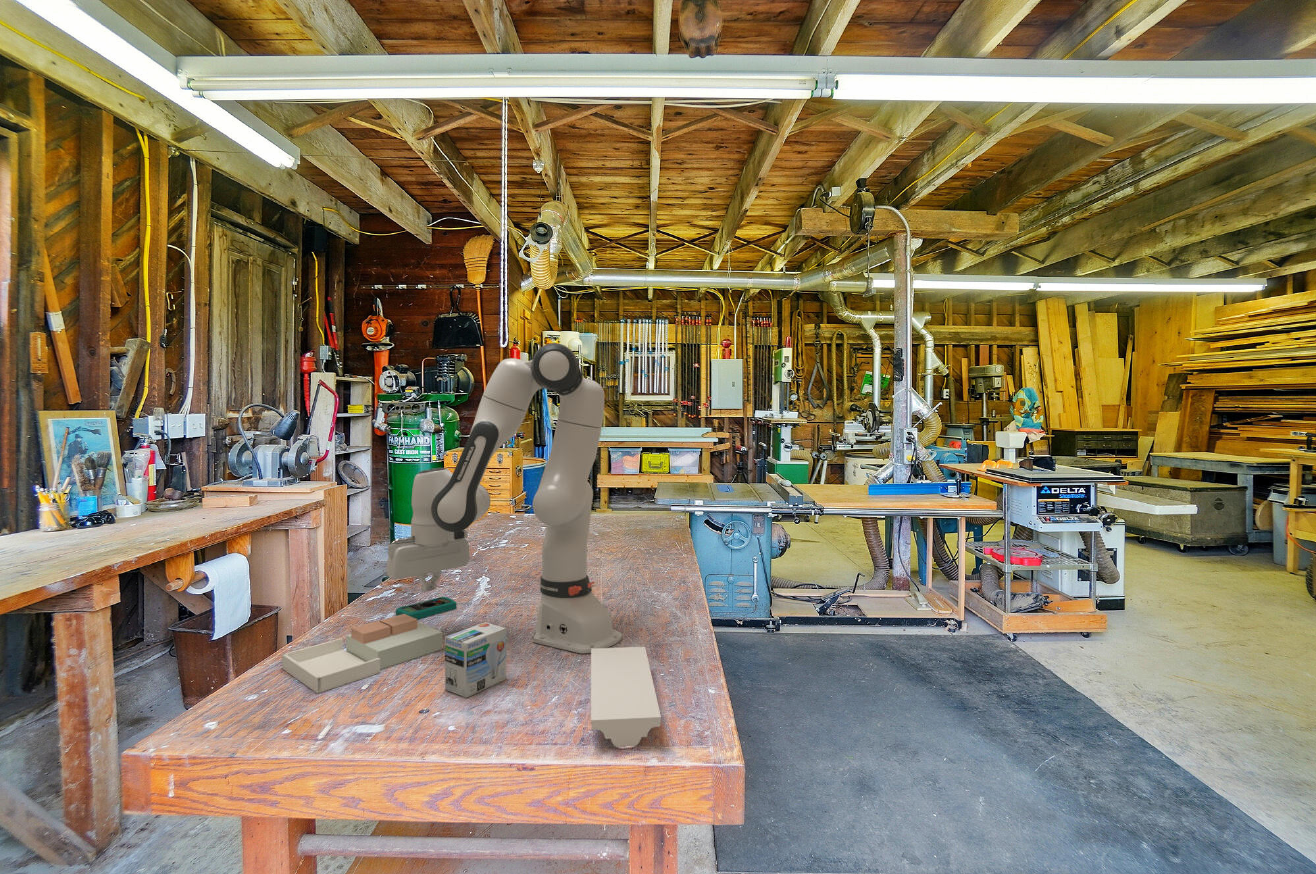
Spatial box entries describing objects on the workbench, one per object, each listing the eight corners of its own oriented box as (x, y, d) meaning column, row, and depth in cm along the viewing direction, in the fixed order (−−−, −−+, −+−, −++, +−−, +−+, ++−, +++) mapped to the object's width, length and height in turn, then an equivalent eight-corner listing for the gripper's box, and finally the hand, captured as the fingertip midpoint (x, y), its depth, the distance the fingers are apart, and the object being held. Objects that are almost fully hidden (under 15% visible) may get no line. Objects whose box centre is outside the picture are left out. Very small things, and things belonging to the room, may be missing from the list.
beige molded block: (590, 751, 97) (591, 720, 97) (591, 672, 127) (591, 648, 127) (660, 748, 98) (661, 717, 98) (644, 670, 128) (644, 646, 128)
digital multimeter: (458, 610, 168) (458, 599, 167) (408, 624, 156) (408, 613, 156) (444, 604, 172) (444, 594, 172) (394, 618, 160) (394, 607, 160)
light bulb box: (466, 699, 114) (466, 643, 114) (443, 690, 118) (443, 636, 117) (507, 678, 123) (507, 627, 123) (485, 671, 127) (485, 620, 127)
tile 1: (390, 636, 135) (390, 626, 135) (363, 644, 131) (363, 634, 131) (377, 630, 139) (377, 620, 139) (351, 637, 134) (351, 627, 134)
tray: (380, 672, 125) (380, 658, 125) (317, 693, 116) (317, 678, 116) (341, 650, 137) (341, 638, 137) (282, 668, 127) (281, 654, 127)
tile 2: (417, 628, 140) (417, 619, 140) (392, 635, 136) (392, 626, 136) (404, 622, 144) (404, 613, 144) (379, 629, 139) (379, 620, 139)
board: (442, 649, 138) (442, 632, 138) (378, 670, 127) (378, 651, 127) (408, 633, 148) (408, 617, 148) (346, 652, 136) (346, 634, 136)
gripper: (395, 542, 136) (394, 602, 136) (473, 530, 152) (472, 584, 152) (382, 537, 139) (380, 596, 140) (459, 527, 155) (458, 579, 156)
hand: (428, 590), depth 146 cm, fingers closed
